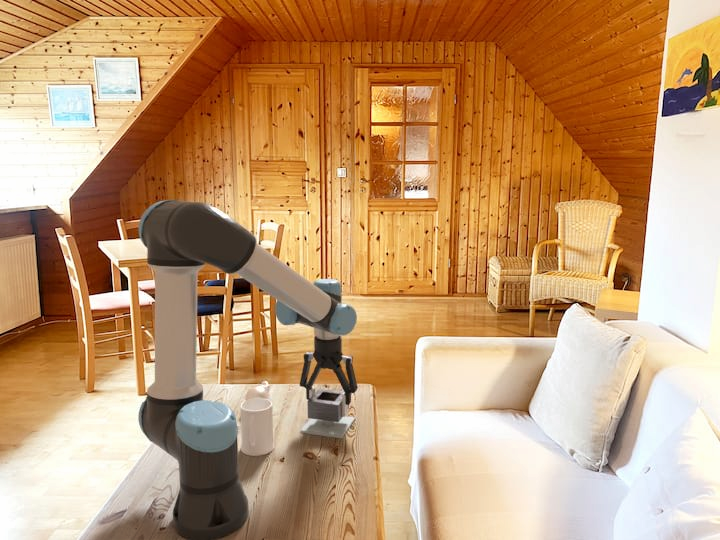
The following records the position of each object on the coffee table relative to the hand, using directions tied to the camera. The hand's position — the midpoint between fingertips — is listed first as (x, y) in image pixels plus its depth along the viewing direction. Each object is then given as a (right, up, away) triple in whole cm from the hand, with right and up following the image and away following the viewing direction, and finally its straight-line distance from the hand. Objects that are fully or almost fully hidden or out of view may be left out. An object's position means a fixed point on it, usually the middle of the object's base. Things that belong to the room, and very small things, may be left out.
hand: (328, 412), depth 153 cm
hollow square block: (0, 0, 0) cm, 0 cm away
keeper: (0, -4, +1) cm, 4 cm away
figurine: (-22, -2, +14) cm, 26 cm away
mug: (-18, -7, -13) cm, 23 cm away
